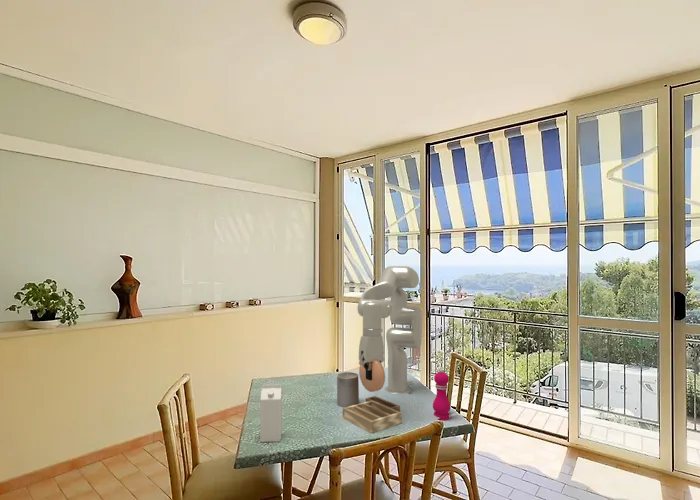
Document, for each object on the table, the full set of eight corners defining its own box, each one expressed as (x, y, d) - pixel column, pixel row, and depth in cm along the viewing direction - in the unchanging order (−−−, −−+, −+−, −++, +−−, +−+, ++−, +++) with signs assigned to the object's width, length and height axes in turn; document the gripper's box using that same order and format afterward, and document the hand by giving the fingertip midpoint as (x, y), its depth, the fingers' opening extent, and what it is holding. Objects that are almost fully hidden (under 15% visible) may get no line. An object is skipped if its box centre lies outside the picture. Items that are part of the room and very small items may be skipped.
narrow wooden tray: (375, 403, 181) (375, 395, 182) (400, 414, 169) (400, 405, 169) (365, 406, 178) (365, 398, 178) (390, 417, 165) (390, 408, 165)
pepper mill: (451, 415, 168) (451, 367, 168) (449, 421, 161) (449, 371, 161) (433, 413, 170) (433, 365, 171) (431, 419, 163) (431, 370, 164)
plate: (363, 386, 165) (363, 354, 166) (384, 394, 155) (385, 360, 155) (359, 387, 164) (359, 355, 164) (380, 395, 153) (380, 361, 154)
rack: (372, 411, 171) (372, 400, 171) (402, 425, 157) (402, 412, 157) (342, 420, 161) (342, 408, 161) (371, 436, 147) (371, 422, 147)
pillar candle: (354, 401, 184) (354, 368, 185) (361, 408, 175) (361, 373, 175) (334, 403, 181) (334, 370, 182) (340, 411, 172) (340, 376, 172)
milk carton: (262, 433, 148) (263, 382, 149) (281, 433, 149) (282, 381, 150) (259, 442, 141) (260, 388, 142) (280, 441, 142) (280, 387, 143)
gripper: (380, 329, 168) (380, 373, 167) (350, 333, 158) (350, 380, 157) (393, 332, 162) (392, 377, 161) (362, 335, 152) (362, 384, 152)
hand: (371, 378), depth 159 cm, fingers closed on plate, 2 cm apart
